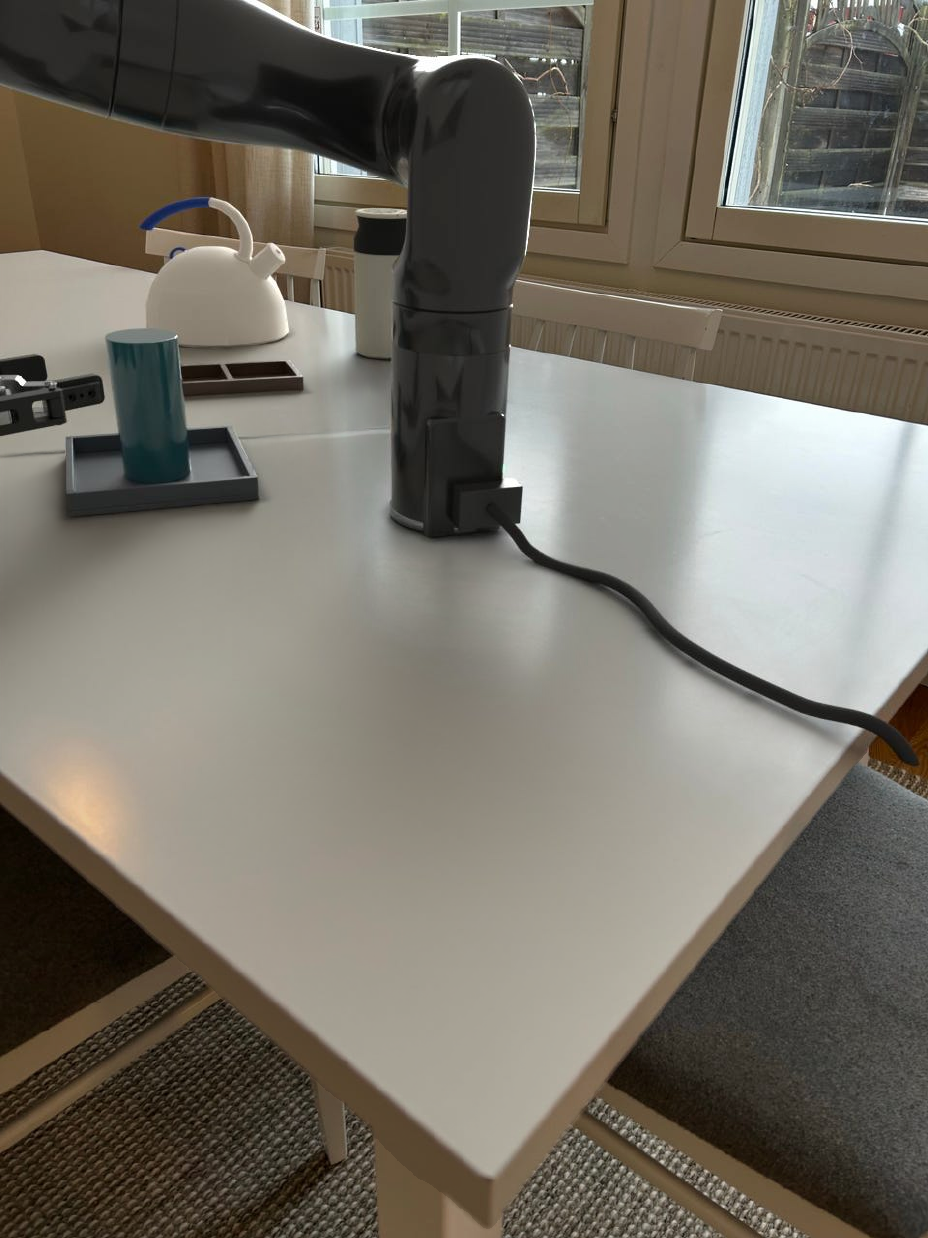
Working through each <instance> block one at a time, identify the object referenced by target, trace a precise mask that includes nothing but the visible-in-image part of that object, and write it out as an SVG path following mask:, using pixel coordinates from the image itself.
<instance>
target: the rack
mask: <svg viewBox="0 0 928 1238" xmlns="http://www.w3.org/2000/svg"><path fill="white" fill-rule="evenodd" d="M180 365H181V374H182V384H183V393H184V398H190V397H191V398H192V397H205V396H207V397H208V396H222V395H240V394H241V395H243V394H257V393H276V392H291V391H292V392H293V391H304V390H305V389H304V387H305V386H304V376H303V375H302V374H301V372H299V370H298V369H297V367H296V366H294V364H293V363H292V362H291V361H290V360H289V359H275V360H274V359H273V360H255V361H254V360H253V361H233V362H232V361H231V362H213V363H211V362H210V363H209V362H208V363H193V364H180Z"/></svg>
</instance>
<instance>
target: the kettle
mask: <svg viewBox="0 0 928 1238" xmlns="http://www.w3.org/2000/svg"><path fill="white" fill-rule="evenodd" d="M196 208H212V209H215V210H218V211H221V212H222V213H223V214H225V215H226V216H228V217H229V219H230V220H231V221H232V223H233V224H234V226H235V227H236V230H237V233H238V237H239V247H238V250H236V249H233V248H230V247H227V246H218V245H217V246H215V245H209V246H208V245H205V246H196V247H192V248H191V249H190V248H189V249H188V250H187V248H185V247H184V246H177V247H174V248H173V249H172V250H171V251H170V253H169V261H168V262H167V263H165V264H164V265H163V266H162V267H161V268H160V270H159V271H158V272H157V274H156V275H155V277H154V279H153V280H152V281H151V284H150V288H149V290H148V295H147V298H146V301H145V327H146V328H152V329H163V330H169V331H172V332H175V333H176V334H177V336H178V346H179V347H188V348H208V347H232V346H234V347H235V346H253V345H254V346H255V345H257V346H258V345H264V344H270V343H274V342H277V341H279V340H281V339H284V338H285V337H286V336H287V335H288V333H289V332H290V328H289V322H288V316H287V307H286V302H285V300H284V297H283V295H282V293H281V290H280V288H279V286H278V284H277V282H276V281H275V280H274V277H272V275H273V274H274V273H275V272H276V271H277V270H278V269H279V268H280V267H281V266H282V265H285V263H286V256H285V254H284V253H283V251H282V249H281V248H280V247H279V246H278V245H276V244H275V243H273V242H267V244H266V246H265V247H263V249H262V250H260V251H259V252H258V253H257V254H256V255H255V256H254V257H252V256H253V251H254V242H253V241H254V240H253V239H254V238H253V234H252V231H251V227H250V226H249V223H248V221H247V220H246V219H245V217H244V216H243V215H242V213H241V212H240V211H239V210H238V209H237V208H235V207H234V206H233V205H232V204H230V203H229V202H228V201H225V200H221V199H218V198H214V197H212V196H202V197H192V198H186V199H181V200H178V201H175V202H172V203H169V204H166V205H164V206H162V207H161V208H159V209H157V210H155V211H154V212H153V213H151V214H150V215H148V216H147V217H146V218H145V219H144V220H143V221H142V222H141V223H140V225H139V228H140V229H141V230H143V231H149V232H150V231H153V230H154V228H155V227H157V226H158V224H159V223H160V222H162V221H164V220H165V219H167V218H169V217H171V216H172V215H175V214H177V213H180V212H183V211H187V210H191V209H196ZM177 251H182V252H181V253H178V254H176V255H175V256H174V254H175V253H176V252H177Z"/></svg>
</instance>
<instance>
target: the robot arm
mask: <svg viewBox="0 0 928 1238" xmlns="http://www.w3.org/2000/svg"><path fill="white" fill-rule="evenodd" d="M0 86H2V87H5V88H8V89H11V90H14V91H17V92H20V93H22V94H23V93H24V94H26V95H30V96H33V97H36V98H38V99H42V100H45V101H48V102H51V103H54V104H58V105H61V106H65V107H69V108H73V109H75V110H79V111H82V112H85V113H88V114H92V115H95V116H99V117H100V118H101V117H102V118H105V119H109V120H113V121H115V122H120V123H124V124H129V125H132V126H137V127H139V128H140V127H141V128H145V129H149V130H151V131H155V132H161V133H165V134H169V135H175V136H179V137H184V138H191V139H197V140H201V141H202V140H203V141H209V142H215V143H222V144H228V145H229V144H230V145H237V146H239V145H240V146H248V147H260V148H261V147H262V148H274V149H284V150H291V151H297V152H302V153H306V154H312V155H315V156H319V157H321V158H325V159H328V160H331V161H334V162H337V163H340V164H343V165H346V166H349V167H351V168H354V169H356V170H360V171H362V172H365V173H368V174H370V175H373V176H375V177H378V178H381V179H383V180H385V181H387V182H390V183H393V184H395V185H397V186H400V187H401V188H404V189H406V190H407V195H406V210H407V221H406V237H405V242H404V246H403V249H402V252H401V254H400V255H399V257H398V258H397V259H396V260H395V262H394V264H393V266H392V272H391V299H392V301H391V359H390V469H391V470H390V476H391V478H390V480H391V481H390V484H391V485H390V486H391V488H390V489H391V491H390V492H391V493H390V494H391V495H390V496H391V498H390V501H389V513H390V517H392V519H393V520H394V521H395V522H397V523H399V525H402V526H403V527H406V528H408V529H412V530H415V531H419V532H422V533H424V534H425V535H426V537H428V538H437V537H444V536H452V535H453V536H454V535H462V534H471V533H480V532H488V531H496V530H497V531H498V530H500V529H501V528H502V529H503V530H504V531H505V532H506V533H507V534H508V535H509V536H510V537H511V539H512V540H513V542H514V543H515V544H516V546H517V548H518V549H519V550H520V552H521V553H522V554H523V555H524V556H525V557H528V558H529V559H530V560H532V561H533V562H535V563H536V564H538V565H540V566H542V567H546V568H548V569H549V570H554V571H556V572H559V573H562V574H565V575H567V576H571V577H574V578H577V579H580V580H585V581H589V582H592V583H596V584H599V585H602V586H605V587H606V588H609V589H612V590H613V591H614V592H615V591H616V592H617V593H619V594H620V595H621V596H623V597H625V598H626V599H627V600H628V601H630V602H631V603H632V604H633V605H635V606H636V608H638V610H640V612H641V613H642V614H643V615H644V617H645V618H646V619H647V620H648V621H649V622H650V624H651V625H652V626H653V627H654V628H655V629H656V631H657V632H658V633H659V634H660V635H662V637H663V638H664V639H665V640H667V641H668V642H669V643H670V644H671V645H673V646H674V647H675V648H677V649H678V650H679V651H680V652H682V653H683V654H685V655H687V656H688V657H690V658H691V659H693V660H694V661H696V662H698V663H699V664H701V665H702V666H704V667H706V668H708V669H710V670H711V671H712V672H715V673H716V674H719V675H720V676H722V677H725V678H726V679H728V680H730V681H732V682H734V683H736V684H737V685H739V686H742V687H744V688H746V689H748V690H750V691H752V692H754V693H757V694H758V695H760V696H762V697H764V698H767V699H769V700H771V701H774V702H775V703H777V704H780V705H782V706H784V707H787V708H788V709H791V710H793V711H795V712H797V713H800V714H803V715H806V716H809V717H814V718H817V719H821V720H825V721H831V722H836V723H840V724H843V725H849V726H854V727H857V728H860V729H863V730H866V731H868V732H870V733H872V734H874V735H876V736H877V737H879V738H880V739H881V740H882V741H884V742H885V743H886V744H887V745H888V746H889V747H890V748H891V749H892V751H893V752H894V753H895V755H896V756H897V758H898V760H899V761H901V762H902V763H903V764H905V765H908V766H910V767H918V766H920V765H921V764H920V761H919V758H918V756H917V754H916V752H915V750H914V748H913V747H912V746H911V744H910V743H909V742H908V740H907V739H906V738H905V737H904V736H903V735H902V733H901V732H900V731H899V730H897V729H896V727H894V726H893V725H891V724H890V723H888V722H886V721H885V720H883V719H881V718H880V717H877V716H875V715H873V714H871V713H868V712H864V711H860V710H858V709H852V708H849V707H844V706H838V705H832V704H828V703H824V702H818V701H815V700H812V699H809V698H806V697H803V696H801V695H799V694H796V693H794V692H792V691H790V690H787V689H786V688H783V687H781V686H778V685H776V684H774V683H772V682H769V681H768V680H766V679H763V678H761V677H759V676H757V675H755V674H753V673H750V672H749V671H746V670H744V669H742V668H741V667H738V666H736V665H735V664H732V663H730V662H728V661H727V660H725V659H722V658H720V657H719V656H717V655H715V654H714V653H712V652H710V651H709V650H707V649H705V648H704V647H702V646H701V645H699V644H698V643H696V642H694V641H693V640H692V639H689V638H688V637H686V636H685V635H684V634H682V632H680V631H679V630H677V629H676V628H675V627H674V626H673V625H672V624H671V623H670V622H668V620H667V619H666V618H665V617H664V616H663V614H661V612H660V611H659V610H658V609H657V607H655V605H654V604H653V603H652V602H651V601H650V599H648V598H647V597H646V596H645V595H644V594H643V593H642V592H640V591H639V590H638V589H637V588H636V587H634V586H632V585H631V584H629V583H628V582H626V581H624V580H622V579H621V578H619V577H618V576H615V575H612V574H609V573H607V572H603V571H600V570H595V569H592V568H589V567H585V566H584V567H583V566H579V565H574V564H571V563H567V562H563V561H561V560H558V559H556V558H553V557H552V556H549V555H547V554H546V553H543V552H542V551H540V550H539V549H537V548H536V547H535V546H533V545H532V544H531V542H529V540H528V539H527V537H526V536H525V534H524V533H523V531H522V529H520V527H518V525H519V524H521V519H522V505H523V493H524V492H523V491H524V490H523V489H524V486H523V485H522V484H521V483H520V482H519V481H518V480H516V479H515V478H513V477H508V478H504V471H505V463H504V462H505V461H504V460H505V445H506V429H507V412H508V411H507V410H508V392H509V377H510V376H509V375H510V360H511V344H512V330H513V329H512V328H513V311H514V310H513V309H514V305H513V304H514V295H515V286H516V282H517V279H518V277H519V275H520V272H521V270H522V267H523V264H524V262H525V258H526V253H527V249H528V248H527V247H528V238H529V231H530V220H531V219H530V218H531V210H532V198H533V189H534V179H535V168H536V151H537V149H536V148H537V133H536V132H537V131H536V121H535V115H534V110H533V105H532V102H531V99H530V96H529V94H528V91H527V89H526V88H525V85H524V84H523V82H522V81H521V80H520V78H519V77H518V76H517V74H515V72H513V70H511V68H509V67H508V66H507V65H505V64H504V63H502V62H500V61H499V60H498V61H497V60H496V59H492V58H490V57H486V56H482V55H466V54H465V55H451V56H437V57H436V56H435V57H433V56H432V57H431V56H418V55H417V56H416V55H410V54H403V53H399V52H398V53H397V52H392V51H387V50H383V49H378V48H373V47H369V46H365V45H360V44H356V43H351V42H347V41H344V40H340V39H337V38H333V37H330V36H327V35H324V34H321V33H319V32H316V31H315V30H312V29H310V28H308V27H306V26H304V25H302V24H300V23H298V22H296V21H294V20H293V19H291V18H289V17H288V16H286V15H284V14H282V13H280V12H279V11H277V10H274V9H273V8H272V7H270V6H268V5H266V4H264V3H262V2H261V1H259V0H0ZM48 378H49V377H48V371H47V364H46V360H45V357H44V356H42V355H39V354H37V353H32V354H31V353H30V354H24V355H19V356H13V357H7V358H0V437H4V436H9V435H14V434H19V433H26V432H29V431H30V432H31V431H35V430H40V429H46V428H50V427H55V426H62V425H64V424H66V423H68V421H67V415H66V414H67V413H66V412H67V411H72V410H77V409H83V408H86V407H91V406H96V405H100V404H103V403H104V401H105V399H106V397H105V396H106V395H105V389H104V381H103V378H102V376H100V375H98V374H95V373H86V374H82V375H81V374H80V375H77V376H71V377H65V378H60V379H54V380H49V379H48ZM7 390H9V392H10V394H7ZM40 401H41V402H42V407H33V404H34V403H35V402H36V403H37V402H40ZM500 527H501V528H500Z"/></svg>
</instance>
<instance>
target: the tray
mask: <svg viewBox="0 0 928 1238" xmlns="http://www.w3.org/2000/svg"><path fill="white" fill-rule="evenodd" d="M187 431H188V440H189V450H190V459H191V469H192V471H191V473H190V474H189V475H188V476H186V477H185V478H182V479H179V480H176V481H172V482H166V483H139V482H134V481H131V480H129V479H127V478H126V477H125V476H124V470H123V463H122V456H121V449H120V442H119V435H118V432H115V433H113V432H112V433H101V434H85V435H83V434H82V435H71V436H70V435H69V436H65V497H66V503H67V509H68V513H69V517H70V518H73V517H75V518H76V517H84V516H85V517H86V516H94V515H105V514H106V515H107V514H117V513H118V514H119V513H126V512H127V513H128V512H139V511H149V510H158V509H159V510H160V509H170V508H180V507H181V508H182V507H192V506H200V505H211V504H223V503H234V502H241V501H242V502H244V501H254V500H260V493H259V492H260V489H259V477H258V476H257V473H256V471H255V469H254V468H253V465H252V463H251V461H250V459H249V457H248V455H247V453H246V451H245V450H244V449H245V448H244V447H243V445H242V443H241V441H240V438H239V437H238V435H237V433H236V431H235V429H234V427H233V425H231V424H230V425H217V426H215V425H214V426H202V427H201V426H200V427H187Z"/></svg>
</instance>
